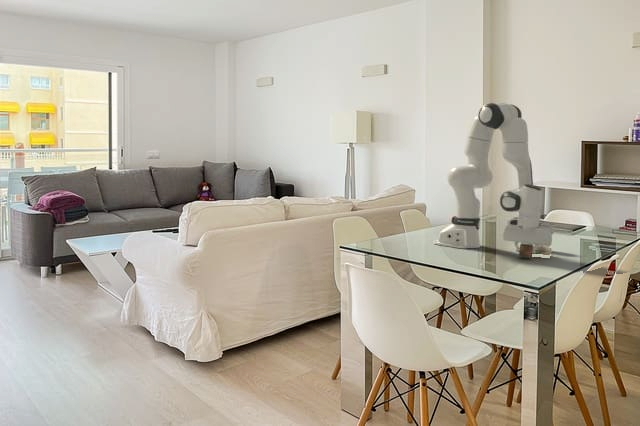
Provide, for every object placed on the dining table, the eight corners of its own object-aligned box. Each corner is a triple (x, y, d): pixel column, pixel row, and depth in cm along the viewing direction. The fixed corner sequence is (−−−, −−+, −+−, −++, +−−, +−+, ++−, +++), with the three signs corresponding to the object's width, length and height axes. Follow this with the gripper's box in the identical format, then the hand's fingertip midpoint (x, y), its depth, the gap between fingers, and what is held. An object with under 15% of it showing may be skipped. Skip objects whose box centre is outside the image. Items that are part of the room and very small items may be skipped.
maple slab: (530, 257, 248) (531, 248, 248) (532, 254, 255) (532, 246, 255) (549, 259, 245) (550, 251, 244) (550, 256, 252) (551, 248, 251)
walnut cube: (518, 256, 242) (519, 245, 242) (520, 254, 247) (521, 243, 246) (530, 258, 240) (532, 247, 239) (532, 256, 245) (533, 245, 244)
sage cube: (520, 254, 255) (521, 243, 254) (518, 251, 259) (519, 241, 259) (531, 254, 254) (532, 244, 253) (530, 252, 258) (530, 242, 258)
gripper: (555, 223, 240) (551, 254, 242) (506, 218, 248) (503, 248, 250) (554, 225, 234) (550, 257, 236) (504, 220, 243) (501, 251, 245)
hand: (525, 252), depth 243 cm, fingers closed on walnut cube, 5 cm apart
